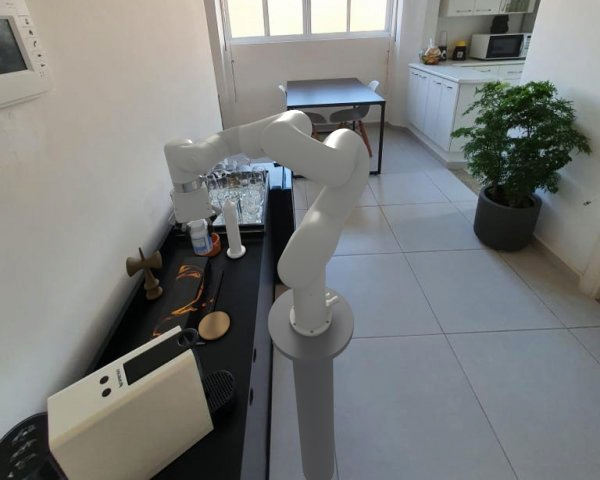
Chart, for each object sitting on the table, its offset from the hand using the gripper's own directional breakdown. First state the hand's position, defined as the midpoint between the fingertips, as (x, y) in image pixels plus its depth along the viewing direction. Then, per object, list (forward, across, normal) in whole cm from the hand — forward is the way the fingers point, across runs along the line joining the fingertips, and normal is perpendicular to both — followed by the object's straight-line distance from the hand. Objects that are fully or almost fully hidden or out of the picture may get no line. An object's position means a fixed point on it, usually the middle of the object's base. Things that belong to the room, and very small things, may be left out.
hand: (200, 236), depth 93 cm
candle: (+24, -9, -19) cm, 32 cm away
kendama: (+24, +19, -7) cm, 31 cm away
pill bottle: (+5, 0, 0) cm, 5 cm away
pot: (+24, +1, -24) cm, 34 cm away
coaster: (+24, 0, +12) cm, 27 cm away
